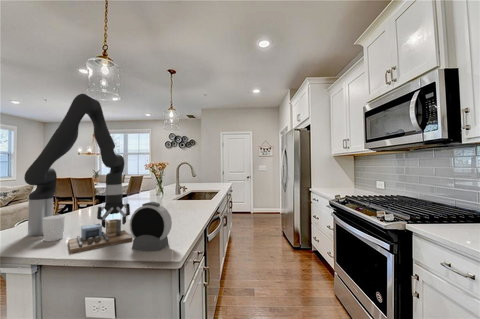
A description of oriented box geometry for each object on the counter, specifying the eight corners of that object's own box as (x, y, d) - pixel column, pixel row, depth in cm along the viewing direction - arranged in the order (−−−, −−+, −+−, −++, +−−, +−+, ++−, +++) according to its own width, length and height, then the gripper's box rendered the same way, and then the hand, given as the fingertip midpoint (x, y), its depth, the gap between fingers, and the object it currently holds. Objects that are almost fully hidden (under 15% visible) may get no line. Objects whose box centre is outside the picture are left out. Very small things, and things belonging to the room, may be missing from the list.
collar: (105, 232, 112) (105, 220, 112) (118, 230, 115) (118, 218, 116) (107, 235, 108) (108, 222, 108) (120, 232, 111) (120, 220, 111)
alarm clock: (124, 250, 88) (125, 203, 89) (139, 241, 98) (140, 200, 99) (163, 252, 86) (163, 204, 86) (174, 243, 96) (174, 200, 97)
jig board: (68, 243, 97) (68, 223, 97) (124, 233, 111) (124, 216, 111) (70, 253, 85) (70, 230, 85) (132, 240, 99) (132, 221, 99)
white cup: (51, 242, 98) (52, 219, 98) (37, 241, 99) (37, 218, 99) (68, 236, 105) (69, 215, 106) (55, 235, 107) (55, 214, 107)
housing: (81, 237, 99) (81, 226, 99) (99, 234, 104) (99, 223, 104) (82, 240, 94) (82, 229, 95) (101, 237, 99) (101, 226, 99)
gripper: (127, 191, 120) (127, 222, 119) (96, 194, 110) (96, 227, 110) (131, 192, 114) (131, 224, 113) (98, 195, 105) (98, 230, 104)
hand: (114, 225), depth 112 cm, fingers open, 8 cm apart
